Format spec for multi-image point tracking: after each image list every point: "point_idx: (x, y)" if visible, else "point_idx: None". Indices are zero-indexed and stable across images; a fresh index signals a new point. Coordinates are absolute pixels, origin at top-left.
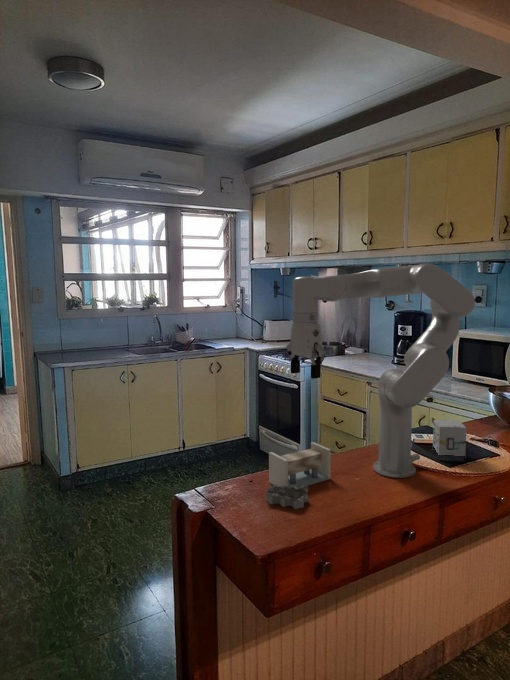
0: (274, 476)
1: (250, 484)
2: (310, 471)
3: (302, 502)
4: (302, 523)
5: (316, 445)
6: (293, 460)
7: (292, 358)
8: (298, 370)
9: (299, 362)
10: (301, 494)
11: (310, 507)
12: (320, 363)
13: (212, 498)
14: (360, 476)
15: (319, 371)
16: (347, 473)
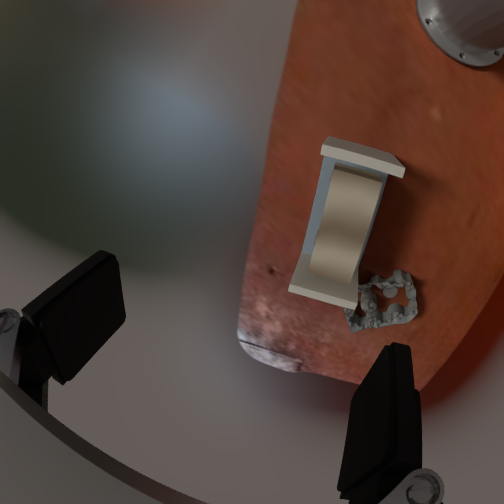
0: None
1: (281, 282)
2: (339, 162)
3: (415, 303)
4: (433, 331)
5: (348, 161)
6: (353, 272)
7: (47, 394)
8: (108, 281)
9: (56, 315)
10: (394, 272)
11: (424, 289)
12: (429, 494)
13: (277, 346)
14: (434, 96)
15: (417, 417)
16: (402, 98)
